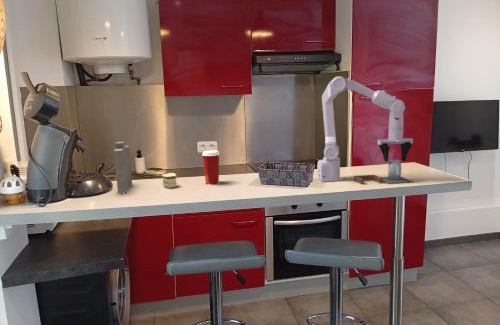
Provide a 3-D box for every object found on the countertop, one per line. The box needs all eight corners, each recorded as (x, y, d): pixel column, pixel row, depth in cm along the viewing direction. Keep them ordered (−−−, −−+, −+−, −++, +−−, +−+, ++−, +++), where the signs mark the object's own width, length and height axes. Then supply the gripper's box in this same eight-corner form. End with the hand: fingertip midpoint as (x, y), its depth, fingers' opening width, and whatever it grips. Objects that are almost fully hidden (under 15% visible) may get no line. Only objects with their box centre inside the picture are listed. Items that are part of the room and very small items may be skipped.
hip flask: (125, 193, 164) (121, 144, 160) (114, 194, 163) (110, 144, 160) (132, 184, 179) (129, 139, 176) (123, 185, 179) (119, 140, 176)
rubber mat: (387, 184, 166) (387, 182, 166) (376, 178, 177) (376, 177, 177) (413, 182, 168) (413, 181, 168) (400, 177, 178) (400, 176, 178)
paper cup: (224, 181, 180) (222, 150, 177) (215, 185, 173) (214, 153, 170) (208, 180, 183) (207, 150, 180) (199, 184, 176) (198, 152, 174)
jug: (393, 182, 167) (394, 162, 166) (386, 178, 174) (386, 160, 173) (405, 181, 168) (405, 162, 167) (397, 177, 175) (397, 159, 174)
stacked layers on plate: (184, 187, 172) (184, 175, 171) (164, 191, 167) (164, 178, 166) (175, 183, 180) (174, 171, 179) (156, 187, 175) (155, 174, 174)
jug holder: (361, 184, 167) (361, 179, 167) (353, 180, 175) (354, 175, 174) (382, 183, 168) (382, 178, 168) (373, 179, 176) (374, 174, 176)
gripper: (383, 130, 164) (382, 163, 166) (417, 128, 166) (415, 161, 168) (376, 128, 171) (375, 160, 173) (408, 127, 172) (407, 159, 175)
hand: (394, 161), depth 171 cm, fingers open, 7 cm apart
